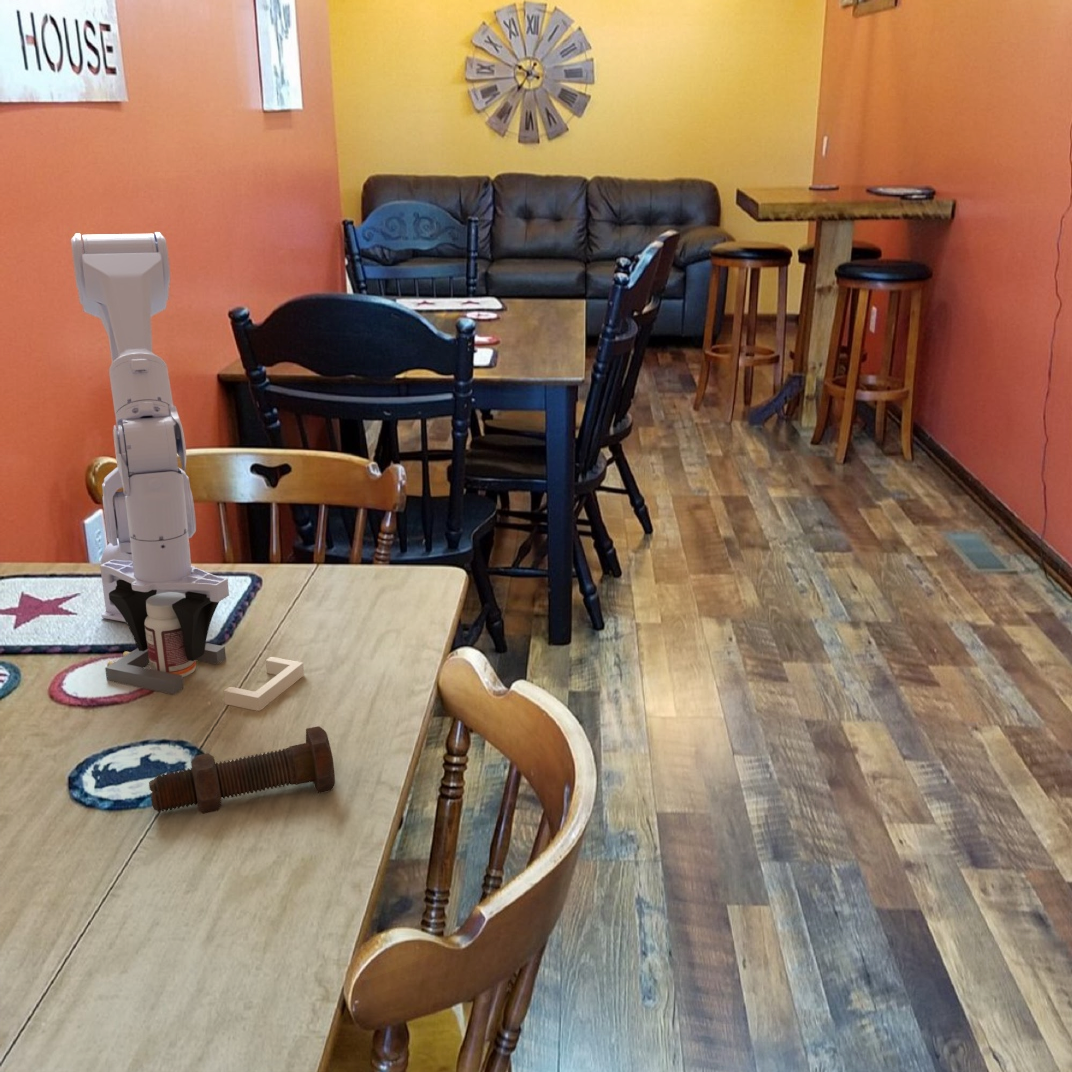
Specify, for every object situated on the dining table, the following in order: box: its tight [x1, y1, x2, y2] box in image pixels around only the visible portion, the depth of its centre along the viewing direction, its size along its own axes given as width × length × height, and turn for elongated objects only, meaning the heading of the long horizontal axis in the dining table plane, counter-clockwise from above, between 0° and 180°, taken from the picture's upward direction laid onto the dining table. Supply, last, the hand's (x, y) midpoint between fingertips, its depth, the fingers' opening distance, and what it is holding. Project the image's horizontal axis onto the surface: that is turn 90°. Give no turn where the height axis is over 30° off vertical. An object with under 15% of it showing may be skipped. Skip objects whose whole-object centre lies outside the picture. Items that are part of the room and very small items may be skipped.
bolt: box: [148, 726, 336, 814], centre depth 97 cm, size 6×5×15 cm
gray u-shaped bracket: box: [104, 642, 227, 696], centre depth 120 cm, size 10×9×2 cm
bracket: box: [223, 656, 305, 712], centre depth 116 cm, size 4×8×2 cm, turn 160°
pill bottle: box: [144, 592, 197, 679], centre depth 119 cm, size 5×5×8 cm
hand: (171, 652), depth 119 cm, fingers open, 6 cm apart
